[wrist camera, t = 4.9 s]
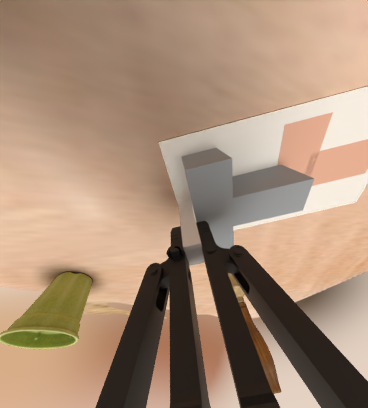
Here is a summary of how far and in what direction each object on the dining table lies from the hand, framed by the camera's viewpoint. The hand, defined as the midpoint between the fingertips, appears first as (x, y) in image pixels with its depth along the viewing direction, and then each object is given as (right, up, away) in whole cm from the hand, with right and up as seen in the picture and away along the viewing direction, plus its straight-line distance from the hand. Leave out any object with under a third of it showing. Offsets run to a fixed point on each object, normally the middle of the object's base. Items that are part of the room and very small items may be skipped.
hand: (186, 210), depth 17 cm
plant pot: (-22, -14, +10) cm, 28 cm away
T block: (+7, +3, +1) cm, 7 cm away
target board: (+12, +4, +1) cm, 13 cm away
